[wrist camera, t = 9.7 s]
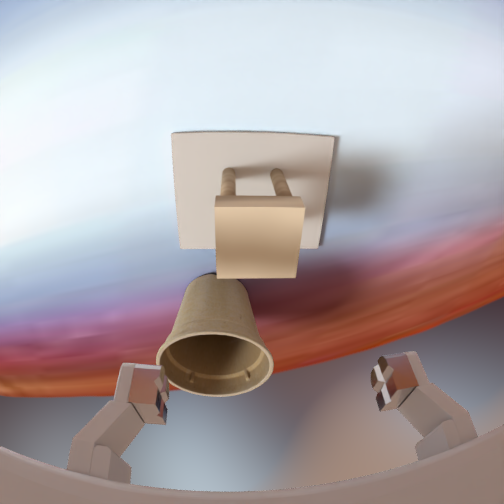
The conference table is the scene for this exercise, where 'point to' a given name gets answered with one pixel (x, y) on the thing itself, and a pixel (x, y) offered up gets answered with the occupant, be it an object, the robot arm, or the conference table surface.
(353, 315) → the conference table surface
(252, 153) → the mat
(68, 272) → the conference table surface
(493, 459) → the robot arm
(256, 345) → the flower pot
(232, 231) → the stool
